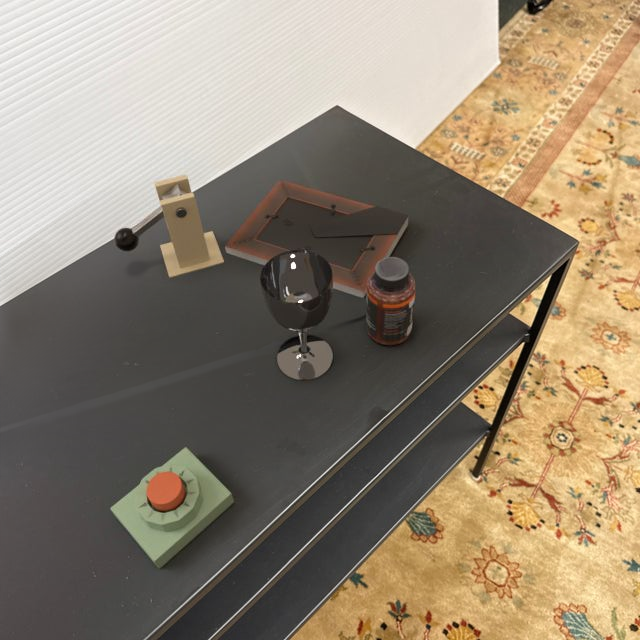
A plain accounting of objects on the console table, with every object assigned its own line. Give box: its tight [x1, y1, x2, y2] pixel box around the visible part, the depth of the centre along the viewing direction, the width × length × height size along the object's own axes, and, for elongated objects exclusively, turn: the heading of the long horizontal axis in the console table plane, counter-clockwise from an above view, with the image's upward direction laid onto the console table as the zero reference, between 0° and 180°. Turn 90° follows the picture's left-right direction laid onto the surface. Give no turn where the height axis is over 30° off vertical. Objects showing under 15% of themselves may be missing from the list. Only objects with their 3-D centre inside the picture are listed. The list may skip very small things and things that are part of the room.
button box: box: [110, 446, 235, 570], centre depth 68 cm, size 10×8×4 cm
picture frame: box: [224, 179, 409, 299], centre depth 94 cm, size 16×2×22 cm
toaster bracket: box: [153, 174, 225, 279], centre depth 89 cm, size 8×7×13 cm
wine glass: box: [259, 250, 334, 381], centre depth 76 cm, size 8×8×15 cm
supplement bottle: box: [365, 256, 417, 346], centre depth 80 cm, size 6×6×11 cm
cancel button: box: [146, 472, 185, 511], centre depth 66 cm, size 4×4×2 cm
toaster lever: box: [113, 184, 187, 252], centre depth 87 cm, size 12×3×3 cm, turn 110°
